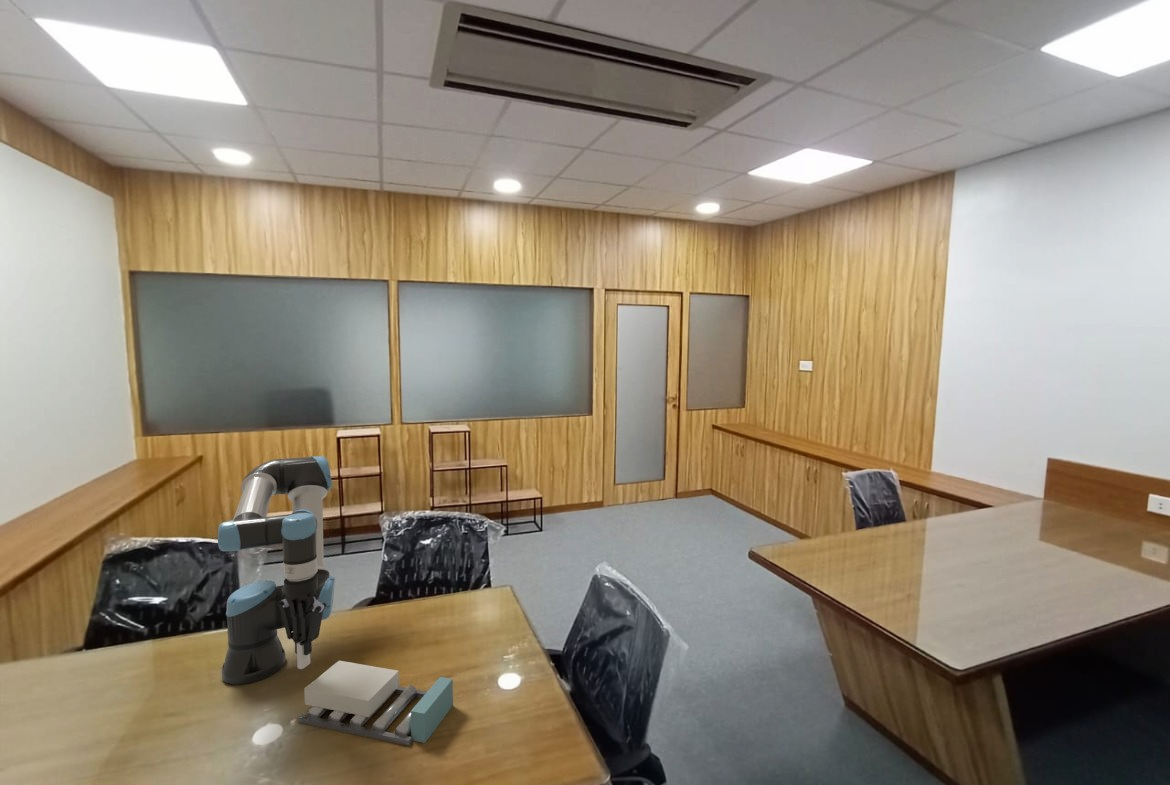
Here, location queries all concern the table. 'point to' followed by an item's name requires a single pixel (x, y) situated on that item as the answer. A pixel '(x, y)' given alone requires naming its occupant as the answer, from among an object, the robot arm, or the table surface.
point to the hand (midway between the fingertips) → (304, 665)
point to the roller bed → (359, 720)
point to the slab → (352, 688)
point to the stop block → (431, 709)
